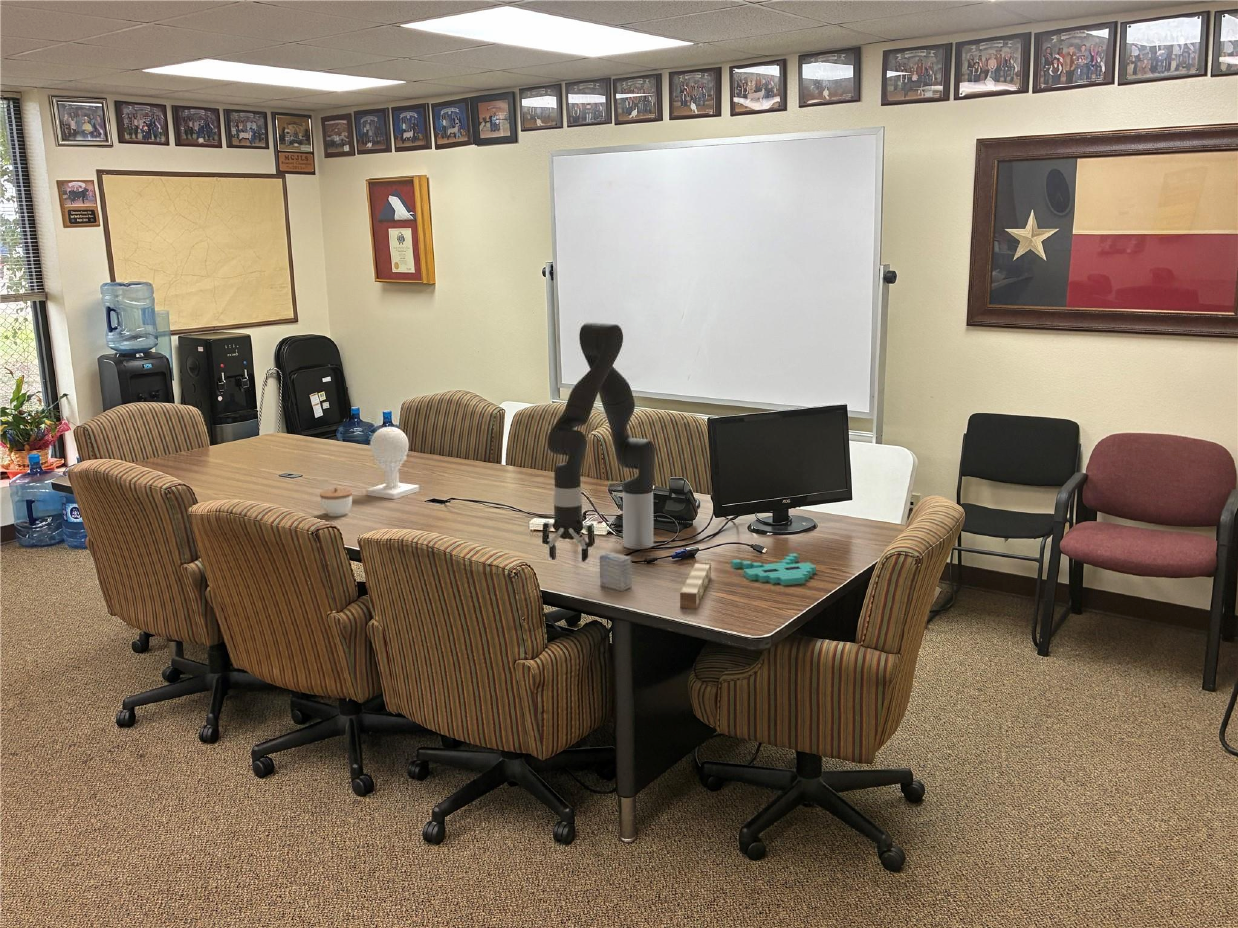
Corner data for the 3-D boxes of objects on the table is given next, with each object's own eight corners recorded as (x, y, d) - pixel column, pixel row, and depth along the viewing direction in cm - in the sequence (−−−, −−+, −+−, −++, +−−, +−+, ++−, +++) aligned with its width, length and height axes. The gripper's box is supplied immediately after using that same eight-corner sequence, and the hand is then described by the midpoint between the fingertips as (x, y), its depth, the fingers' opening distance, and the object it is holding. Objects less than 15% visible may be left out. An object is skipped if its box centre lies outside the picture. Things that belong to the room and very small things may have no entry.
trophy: (365, 494, 386) (361, 428, 380) (390, 486, 397) (387, 422, 392) (394, 499, 379) (390, 432, 373) (419, 491, 391) (416, 425, 385)
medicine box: (632, 587, 283) (631, 557, 281) (621, 591, 279) (620, 560, 277) (610, 581, 288) (610, 551, 286) (599, 585, 284) (599, 555, 283)
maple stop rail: (696, 576, 291) (696, 562, 290) (710, 576, 290) (710, 562, 289) (680, 607, 267) (680, 592, 266) (696, 609, 266) (696, 593, 265)
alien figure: (731, 567, 300) (759, 589, 281) (731, 560, 299) (759, 581, 281) (794, 560, 305) (826, 582, 286) (795, 553, 305) (827, 574, 286)
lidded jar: (315, 517, 356) (313, 490, 354) (331, 509, 366) (329, 483, 364) (344, 519, 353) (342, 492, 351) (359, 511, 364) (357, 484, 361)
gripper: (596, 500, 283) (597, 557, 287) (546, 497, 286) (547, 554, 290) (589, 507, 276) (590, 565, 280) (538, 504, 279) (539, 562, 283)
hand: (568, 560), depth 285 cm, fingers open, 8 cm apart
